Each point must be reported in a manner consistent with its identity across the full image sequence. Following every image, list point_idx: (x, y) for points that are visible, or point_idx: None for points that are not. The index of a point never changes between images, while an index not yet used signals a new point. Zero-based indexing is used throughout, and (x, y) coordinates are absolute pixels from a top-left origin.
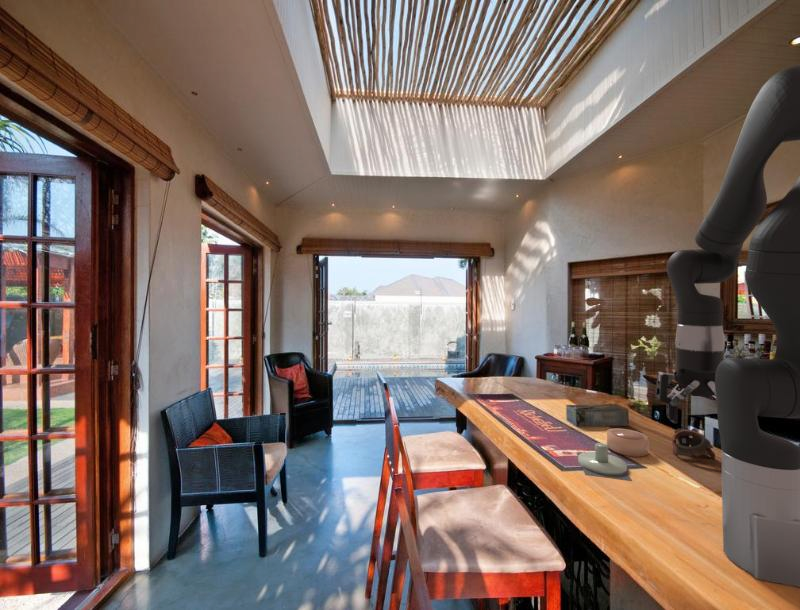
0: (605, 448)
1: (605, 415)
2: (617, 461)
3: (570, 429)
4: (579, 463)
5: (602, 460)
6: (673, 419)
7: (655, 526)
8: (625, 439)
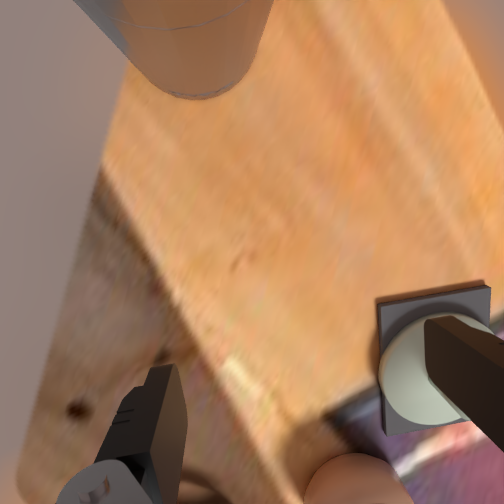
0: None
1: None
2: (403, 387)
3: None
4: None
5: None
6: (461, 325)
7: (377, 92)
8: (383, 496)
